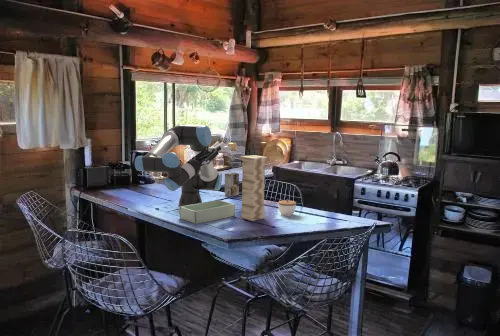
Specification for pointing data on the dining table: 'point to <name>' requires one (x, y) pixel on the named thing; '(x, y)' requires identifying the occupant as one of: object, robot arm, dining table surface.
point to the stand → (253, 186)
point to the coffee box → (232, 184)
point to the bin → (207, 211)
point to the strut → (225, 148)
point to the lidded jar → (287, 207)
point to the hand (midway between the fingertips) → (221, 143)
